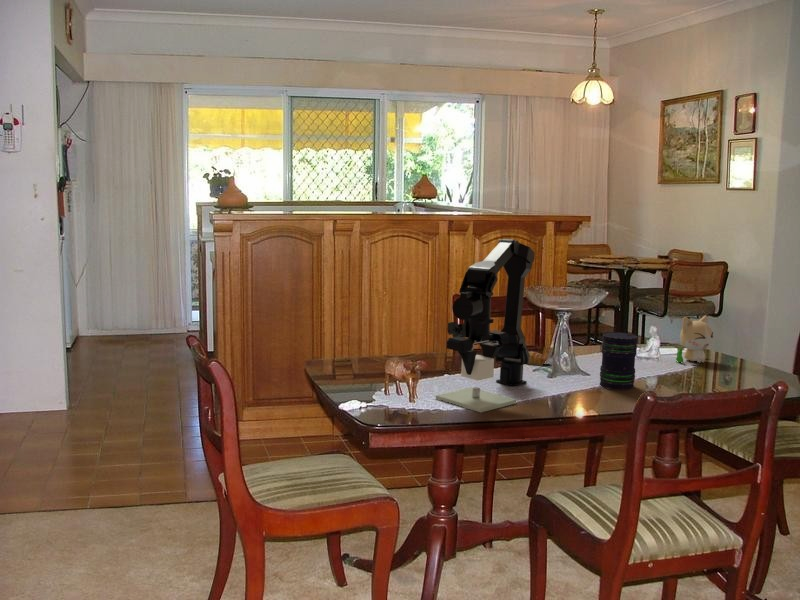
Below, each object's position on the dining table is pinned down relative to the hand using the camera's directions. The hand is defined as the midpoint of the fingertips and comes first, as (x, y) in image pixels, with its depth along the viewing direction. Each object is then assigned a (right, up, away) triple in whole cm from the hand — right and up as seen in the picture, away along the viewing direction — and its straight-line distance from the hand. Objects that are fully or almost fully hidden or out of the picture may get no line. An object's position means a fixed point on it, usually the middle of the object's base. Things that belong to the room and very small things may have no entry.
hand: (477, 372), depth 222 cm
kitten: (+77, -1, +57) cm, 96 cm away
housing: (0, -1, 0) cm, 1 cm away
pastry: (+23, -1, +49) cm, 54 cm away
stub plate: (0, -8, +1) cm, 8 cm away
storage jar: (+42, -6, +21) cm, 48 cm away
